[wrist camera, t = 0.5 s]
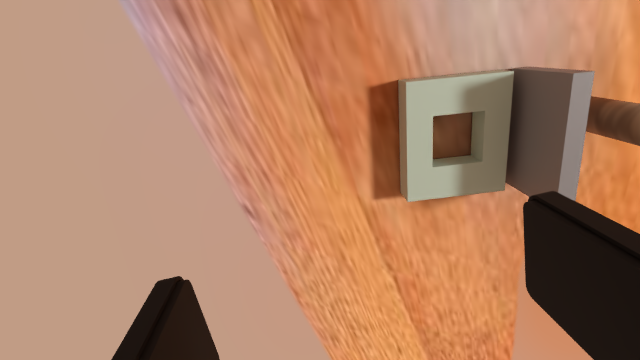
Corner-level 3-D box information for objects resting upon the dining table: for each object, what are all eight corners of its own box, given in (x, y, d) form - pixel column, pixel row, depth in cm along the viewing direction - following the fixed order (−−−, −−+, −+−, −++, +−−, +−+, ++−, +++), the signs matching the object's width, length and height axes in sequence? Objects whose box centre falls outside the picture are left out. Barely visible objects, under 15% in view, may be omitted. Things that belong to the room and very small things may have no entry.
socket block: (398, 80, 43) (406, 82, 40) (499, 69, 44) (514, 71, 41) (400, 193, 48) (407, 201, 45) (491, 182, 48) (504, 190, 45)
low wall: (511, 68, 44) (573, 73, 34) (528, 66, 44) (594, 71, 34) (503, 180, 48) (555, 212, 39) (518, 179, 48) (573, 210, 39)
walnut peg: (565, 97, 45) (637, 109, 36) (596, 93, 46) (677, 104, 36) (560, 129, 47) (630, 149, 37) (591, 126, 47) (668, 145, 37)
